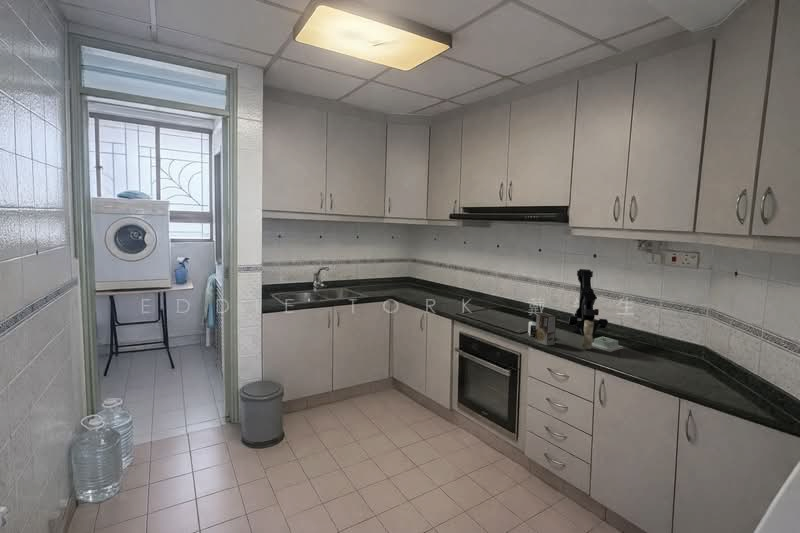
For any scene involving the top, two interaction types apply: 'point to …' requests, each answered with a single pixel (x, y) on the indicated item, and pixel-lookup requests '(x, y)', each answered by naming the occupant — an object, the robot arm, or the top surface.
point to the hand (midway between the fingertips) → (588, 335)
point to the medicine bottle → (532, 326)
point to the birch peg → (588, 334)
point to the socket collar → (606, 344)
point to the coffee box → (545, 328)
